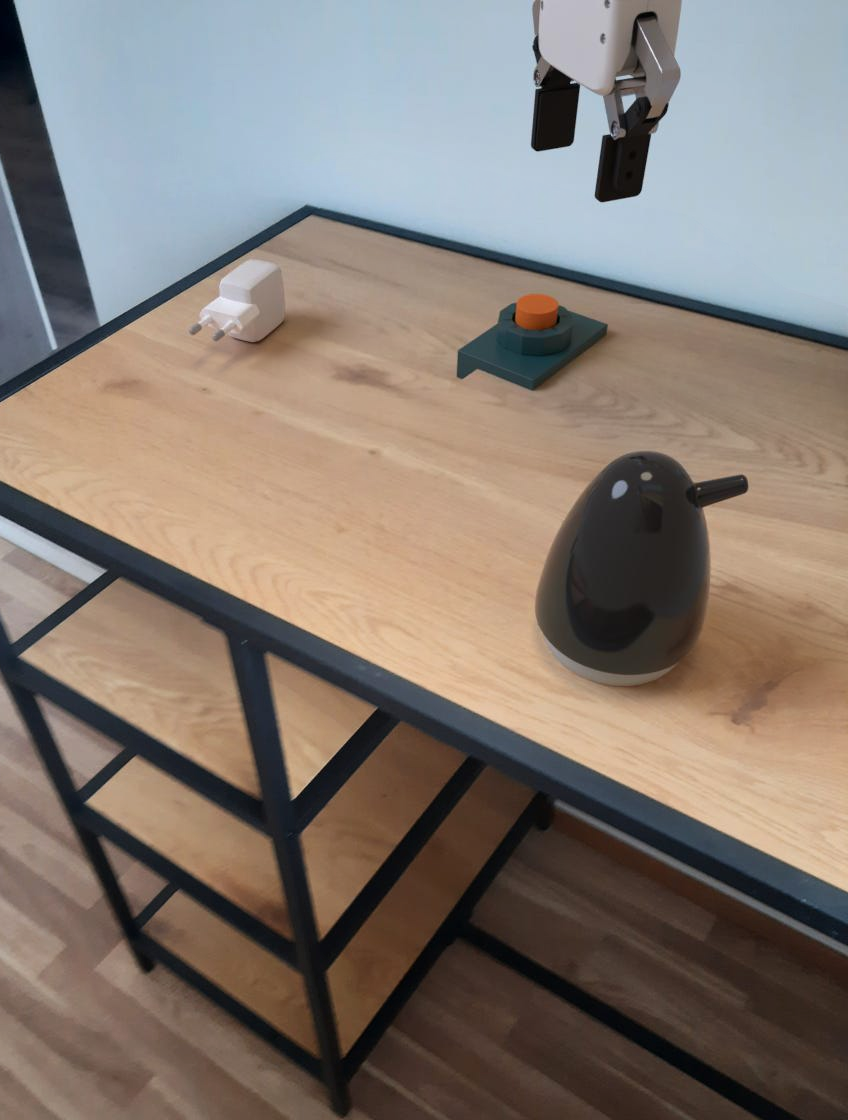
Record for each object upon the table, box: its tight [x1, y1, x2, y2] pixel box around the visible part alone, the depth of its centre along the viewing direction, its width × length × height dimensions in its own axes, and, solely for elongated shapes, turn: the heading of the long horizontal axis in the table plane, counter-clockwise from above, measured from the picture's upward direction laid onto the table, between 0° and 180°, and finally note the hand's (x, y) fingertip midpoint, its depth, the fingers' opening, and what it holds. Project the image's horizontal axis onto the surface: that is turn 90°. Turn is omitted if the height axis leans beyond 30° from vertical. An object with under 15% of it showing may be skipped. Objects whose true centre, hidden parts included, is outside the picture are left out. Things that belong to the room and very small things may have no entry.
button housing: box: [456, 302, 609, 392], centre depth 84 cm, size 12×8×4 cm, turn 139°
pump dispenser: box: [534, 450, 750, 687], centre depth 55 cm, size 10×10×15 cm
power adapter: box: [188, 258, 287, 343], centre depth 88 cm, size 11×5×6 cm, turn 151°
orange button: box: [515, 293, 560, 331], centre depth 82 cm, size 4×4×2 cm
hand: (583, 171), depth 65 cm, fingers open, 9 cm apart
